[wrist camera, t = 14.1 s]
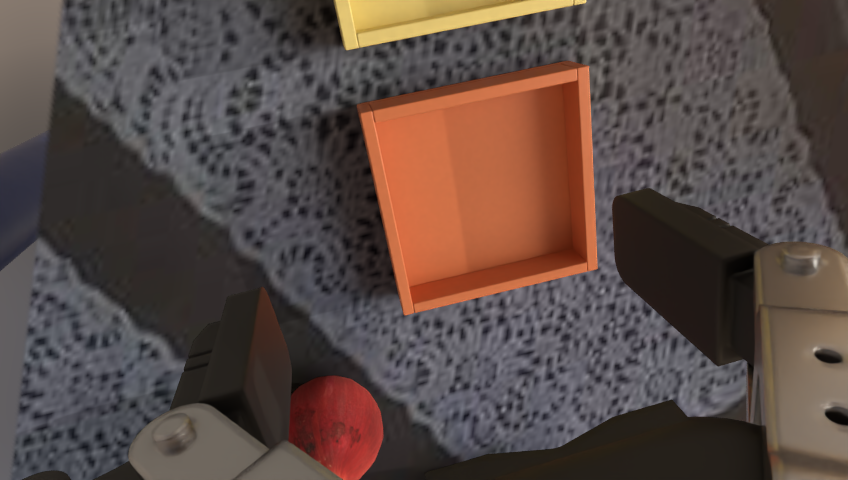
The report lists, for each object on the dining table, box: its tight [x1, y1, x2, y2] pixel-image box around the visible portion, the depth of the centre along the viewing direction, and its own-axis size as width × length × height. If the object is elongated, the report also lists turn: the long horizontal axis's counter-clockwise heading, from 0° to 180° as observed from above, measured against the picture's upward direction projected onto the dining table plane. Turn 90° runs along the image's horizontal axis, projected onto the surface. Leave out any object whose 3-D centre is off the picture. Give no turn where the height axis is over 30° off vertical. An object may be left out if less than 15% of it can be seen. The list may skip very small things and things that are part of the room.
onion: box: [288, 375, 383, 480], centre depth 31 cm, size 6×6×8 cm
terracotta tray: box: [357, 61, 597, 315], centre depth 30 cm, size 11×11×2 cm
